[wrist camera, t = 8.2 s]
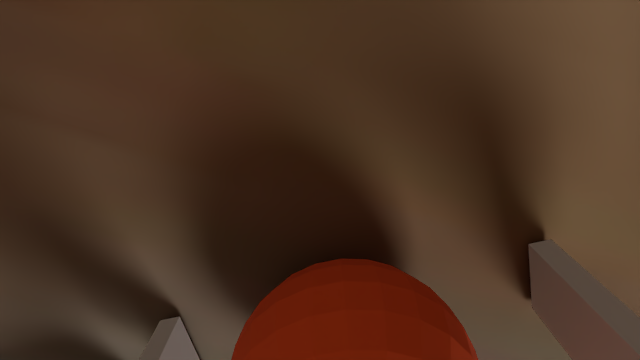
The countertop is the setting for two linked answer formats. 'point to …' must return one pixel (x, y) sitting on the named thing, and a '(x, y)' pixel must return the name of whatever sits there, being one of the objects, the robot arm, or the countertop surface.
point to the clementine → (353, 318)
